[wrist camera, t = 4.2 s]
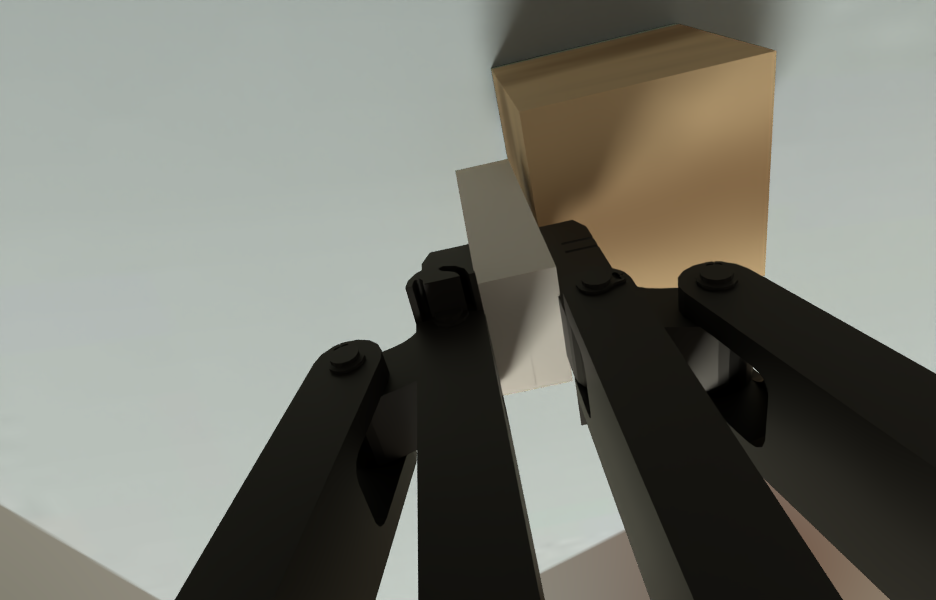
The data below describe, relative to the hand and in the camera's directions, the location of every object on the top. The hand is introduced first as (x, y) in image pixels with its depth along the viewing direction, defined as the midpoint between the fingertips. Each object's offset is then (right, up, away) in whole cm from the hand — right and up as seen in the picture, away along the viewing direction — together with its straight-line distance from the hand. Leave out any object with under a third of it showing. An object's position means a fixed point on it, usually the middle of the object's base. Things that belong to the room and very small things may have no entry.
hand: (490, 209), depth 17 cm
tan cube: (+4, +3, +3) cm, 6 cm away
